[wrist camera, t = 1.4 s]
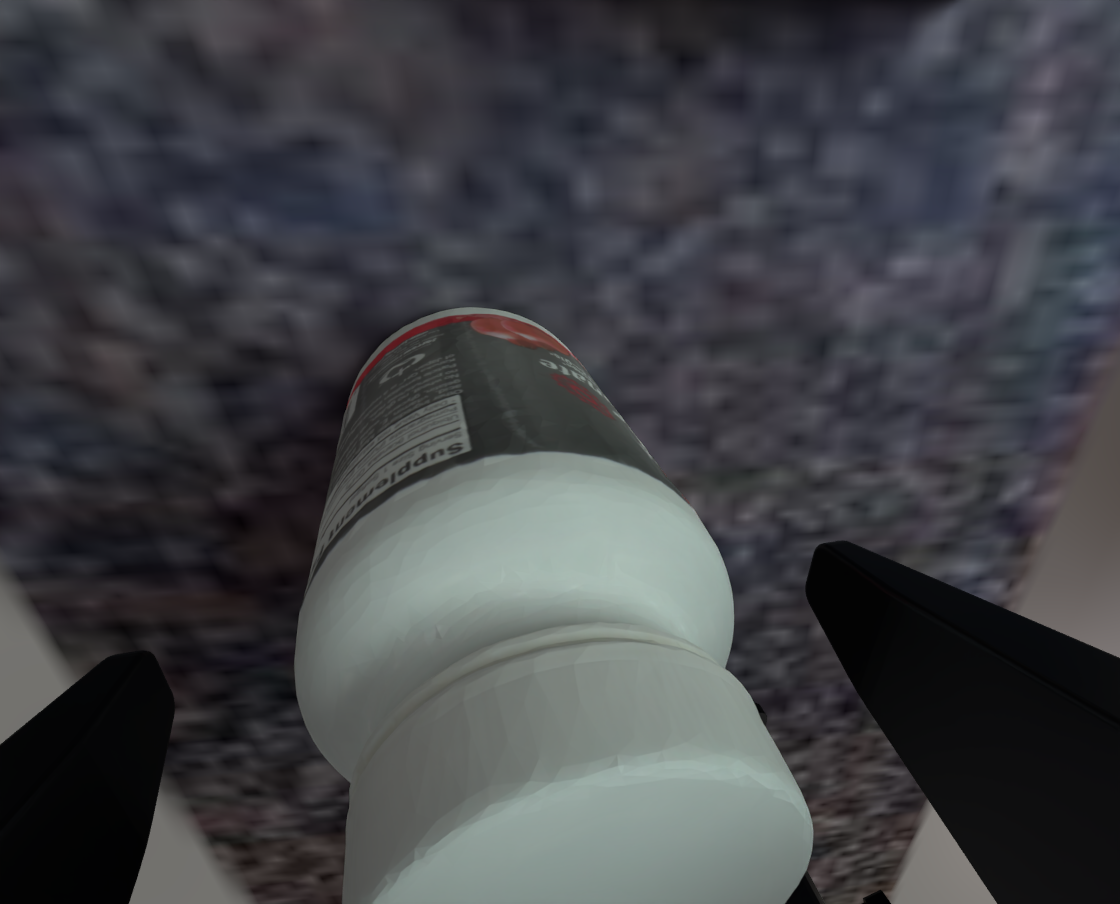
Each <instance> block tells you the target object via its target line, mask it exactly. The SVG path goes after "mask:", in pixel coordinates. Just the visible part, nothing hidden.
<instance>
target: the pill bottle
mask: <svg viewBox="0 0 1120 904" xmlns="http://www.w3.org/2000/svg"><path fill="white" fill-rule="evenodd" d="M733 630H734V604H733V596H732V589H731V585H730V581H729V577H728V573H727V570H726V567H725V565H724V562H723V559H722V557H721V555H720V552H719V550H718V548H717V546H716V544H715V543H714V541H713V540H712V538H711V536H710V535H709V533H708V531H707V530H706V528H705V527H704V525H703V524H702V522H701V520H700V519H699V517H698V515H697V513H696V512H695V510H694V509H693V507H692V506H691V505H690V504H689V502H688V501H687V500H686V498H685V497H684V496H683V495H682V494H681V493H680V492H679V491H678V489H677V488H676V487H675V486H674V485H673V484H672V483H671V482H670V480H669V479H668V478H667V476H666V475H665V474H664V473H663V471H662V470H661V468H660V467H659V466H658V464H657V463H656V461H655V460H654V458H653V457H652V456H651V455H650V454H649V453H648V451H647V449H646V448H645V447H644V445H643V444H642V443H641V442H640V441H639V439H638V438H637V437H636V436H635V434H634V433H633V432H632V430H631V429H630V428H629V426H628V425H627V423H626V422H625V421H624V420H623V418H622V417H621V415H620V414H619V413H618V412H617V410H616V409H615V408H614V407H613V405H612V404H611V403H610V402H609V400H608V399H607V398H606V396H605V395H604V394H603V393H602V391H601V390H600V388H599V387H598V386H597V384H596V383H595V382H594V381H593V379H592V378H591V376H590V375H589V373H588V372H587V371H586V369H585V368H584V367H583V365H582V364H581V363H580V362H579V361H578V360H577V358H576V357H575V356H574V355H573V354H572V353H571V352H570V350H569V349H568V348H567V347H566V346H565V345H564V344H563V343H562V342H561V341H560V340H559V339H558V338H556V337H555V336H554V335H553V334H552V333H550V332H549V331H548V330H546V329H545V328H543V327H541V326H540V325H538V324H536V323H535V322H533V321H531V320H529V319H526V318H524V317H522V316H519V315H516V314H512V313H509V312H506V311H501V310H496V309H487V308H474V307H466V308H456V309H450V310H445V311H440V312H437V313H434V314H432V315H429V316H426V317H423V318H420V319H418V320H417V321H415V322H413V323H411V324H409V325H406V326H404V327H403V328H401V329H400V330H399V331H397V332H395V333H394V334H392V335H391V336H390V337H389V338H387V339H386V340H385V341H384V342H383V343H382V344H381V345H380V346H379V347H378V348H377V349H376V350H375V352H374V353H373V354H372V355H371V356H370V358H369V359H368V361H367V362H366V364H365V365H364V366H363V368H362V369H361V371H360V372H359V374H358V376H357V379H356V381H355V383H354V385H353V388H352V391H351V394H350V397H349V400H348V404H347V407H346V411H345V413H344V418H343V423H342V428H341V433H340V437H339V442H338V446H337V453H336V458H335V462H334V466H333V470H332V475H331V480H330V484H329V489H328V494H327V498H326V503H325V507H324V512H323V516H322V520H321V524H320V528H319V533H318V539H317V543H316V548H315V552H314V557H313V561H312V566H311V571H310V575H309V580H308V584H307V587H306V590H305V594H304V598H303V602H302V605H301V608H300V612H299V620H298V629H297V637H296V649H295V660H294V671H295V684H296V695H297V699H298V703H299V707H300V711H301V714H302V717H303V719H304V722H305V725H306V727H307V729H308V731H309V733H310V735H311V737H312V739H313V741H314V743H315V744H316V746H317V747H318V749H319V751H320V752H321V753H322V754H323V755H324V757H325V758H326V759H327V760H328V762H329V763H330V764H331V765H332V766H333V767H334V768H335V769H336V770H337V771H338V772H339V773H340V774H341V775H342V776H343V777H344V778H345V779H347V780H348V781H349V782H350V783H351V784H350V789H349V797H350V806H349V811H348V814H347V822H346V850H345V864H344V879H343V895H342V904H785V903H786V901H787V900H788V899H789V897H790V896H791V894H792V893H793V891H794V890H795V889H796V888H797V886H798V884H799V883H800V881H801V879H802V877H803V875H804V874H805V872H806V870H807V867H808V863H809V860H810V857H811V853H812V846H813V825H812V820H811V817H810V813H809V810H808V807H807V805H806V802H805V800H804V798H803V795H802V793H801V791H800V789H799V787H798V785H797V783H796V781H795V780H794V778H793V776H792V774H791V772H790V770H789V768H788V767H787V765H786V763H785V761H784V759H783V757H782V756H781V754H780V752H779V750H778V748H777V747H776V745H775V743H774V741H773V740H772V738H771V736H770V734H769V733H768V731H767V729H766V727H765V726H764V724H763V722H762V720H761V718H760V715H759V713H758V710H757V708H756V706H755V704H754V702H753V700H752V698H751V696H750V695H749V693H748V692H747V691H746V689H745V688H744V687H743V685H742V684H741V683H740V682H739V681H738V680H737V679H736V678H735V677H734V676H733V675H732V674H731V673H730V672H729V671H727V670H726V669H725V666H726V663H727V660H728V657H729V653H730V649H731V644H732V638H733Z"/></svg>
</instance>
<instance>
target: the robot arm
mask: <svg viewBox="0 0 1120 904" xmlns="http://www.w3.org/2000/svg"><path fill="white" fill-rule="evenodd" d="M805 591H806V596H807V600H808V602H809V604H810V606H811V608H812V610H813V612H814V613H815V615H816V617H817V619H818V621H819V623H820V625H821V627H822V628H823V630H824V632H825V634H826V636H827V638H828V640H829V641H830V643H831V645H832V647H833V649H834V651H835V653H836V654H837V656H838V658H839V660H840V662H841V664H842V666H843V668H844V669H845V671H846V673H847V675H848V677H849V679H850V680H851V682H852V684H853V686H854V687H855V689H856V691H857V693H858V694H859V696H860V697H861V699H862V700H863V702H864V704H865V705H866V707H867V708H868V710H869V711H870V713H871V714H872V716H873V717H874V719H875V720H876V722H877V723H878V725H879V726H880V728H881V729H882V731H883V732H884V734H885V735H886V737H887V738H888V740H889V741H890V743H891V744H892V746H893V747H894V749H895V750H896V752H897V753H898V755H899V756H900V758H901V759H902V761H903V762H904V764H905V765H906V767H907V768H908V770H909V772H910V773H911V775H912V776H913V778H914V779H915V781H916V782H917V784H918V785H919V787H920V788H921V790H922V791H923V793H924V794H925V796H926V797H927V799H928V800H929V802H930V803H931V805H932V806H933V808H934V809H935V810H936V812H937V814H938V815H939V817H940V818H941V819H942V821H943V823H944V824H945V826H946V827H947V829H948V830H949V832H950V833H951V835H952V836H953V838H954V839H955V840H956V842H957V843H958V845H959V847H960V848H961V850H962V851H963V853H964V854H965V856H966V857H967V859H968V860H969V862H970V863H971V865H972V866H973V868H974V869H975V871H976V872H977V874H978V875H979V877H980V878H981V880H982V881H983V883H984V884H985V886H986V887H987V889H988V890H989V892H990V893H991V895H992V896H993V898H994V899H995V901H996V902H997V904H1120V658H1119V657H1116V656H1114V655H1112V654H1109V653H1107V652H1105V651H1102V650H1100V649H1098V648H1095V647H1093V646H1091V645H1088V644H1086V643H1084V642H1081V641H1079V640H1077V639H1074V638H1072V637H1070V636H1067V635H1065V634H1063V633H1060V632H1058V631H1056V630H1053V629H1051V628H1049V627H1046V626H1044V625H1042V624H1039V623H1037V622H1035V621H1032V620H1030V619H1028V618H1025V617H1023V616H1021V615H1018V614H1016V613H1014V612H1011V611H1009V610H1007V609H1004V608H1002V607H1000V606H997V605H995V604H993V603H990V602H988V601H986V600H983V599H981V598H979V597H976V596H974V595H972V594H969V593H967V592H965V591H962V590H960V589H958V588H955V587H953V586H951V585H948V584H946V583H944V582H941V581H939V580H937V579H934V578H932V577H930V576H927V575H925V574H923V573H920V572H918V571H916V570H913V569H911V568H909V567H906V566H904V565H902V564H899V563H897V562H895V561H893V560H890V559H888V558H886V557H883V556H881V555H879V554H876V553H874V552H872V551H869V550H867V549H865V548H862V547H860V546H858V545H855V544H853V543H851V542H848V541H835V542H828V543H823V544H820V545H818V547H817V548H816V549H815V551H814V554H813V558H812V562H811V566H810V569H809V573H808V577H807V581H806V586H805ZM754 704H755V706H756V708H757V710H758V713H759V715H760V718H761V720H762V722H763V724H764V726H766V722H767V716H766V714H765V712H764V711H763V709H762V707H761V706H760V705H759V704H757V703H754ZM174 713H175V702H174V697H173V694H172V691H171V689H170V687H169V685H168V683H167V681H166V678H165V676H164V674H163V672H162V670H161V668H160V666H159V664H158V661H157V659H156V658H155V656H154V655H153V654H152V653H151V652H149V651H144V650H142V651H135V652H129V653H123V654H116V655H113V656H110V657H108V658H106V659H105V660H103V661H102V662H100V663H99V664H98V665H97V666H96V667H94V668H93V669H92V670H91V671H89V672H88V673H87V674H86V675H85V676H83V677H82V678H81V679H80V680H78V681H77V682H76V683H75V684H74V685H72V686H71V687H70V688H69V689H67V690H66V691H65V692H64V693H63V694H61V695H60V696H59V697H58V698H56V699H55V700H54V701H53V702H52V703H50V704H49V705H48V706H47V707H46V708H44V709H43V710H42V711H41V712H39V713H38V714H37V715H36V716H35V717H33V718H32V719H31V720H30V721H28V722H27V723H26V724H25V725H24V726H22V727H21V728H20V729H19V730H17V731H16V732H15V733H14V734H13V735H11V736H10V737H9V738H8V739H6V740H5V741H4V742H3V743H2V744H0V904H129V901H130V898H131V895H132V892H133V889H134V886H135V883H136V880H137V877H138V873H139V870H140V867H141V863H142V860H143V857H144V853H145V849H146V846H147V842H148V838H149V834H150V829H151V825H152V821H153V816H154V811H155V806H156V801H157V796H158V792H159V787H160V782H161V777H162V772H163V767H164V762H165V758H166V753H167V748H168V743H169V738H170V733H171V728H172V724H173V719H174ZM863 901H864V903H862V904H891V903H890V902H889V900H888V899H887V897H886V896H885V894H884V893H883V892H882V891H881V890H879V891H877V892H875V893H873V894H871V895H869V896H867V897H865V898H863ZM785 904H825V903H824V901H823V899H822V897H821V895H820V894H819V892H818V890H817V888H816V886H815V884H814V882H813V881H812V879H811V877H810V875H809V873H808V871H807V870H806V872H805V874H804V875H803V877H802V879H801V881H800V883H799V884H798V886H797V888H796V889H795V890H794V891H793V893H792V894H791V896H790V897H789V899H788V900H787V901H786V903H785Z"/></svg>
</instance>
